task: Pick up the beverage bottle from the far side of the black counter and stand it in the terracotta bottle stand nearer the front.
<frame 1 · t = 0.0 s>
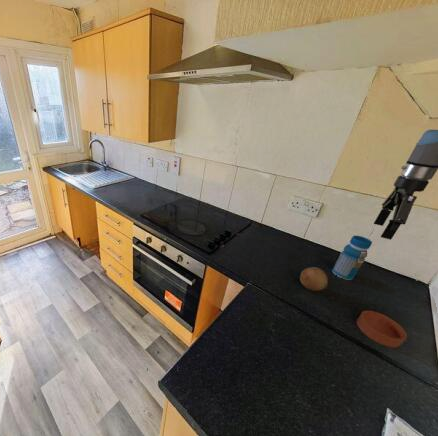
hand: (381, 231, 87), 29 cm above the table, tool pointing down, fingers open, 13 cm apart
onion: (309, 287, 98), on the table
beverage bottle: (341, 274, 108), on the table
bottle stand: (377, 331, 80), on the table
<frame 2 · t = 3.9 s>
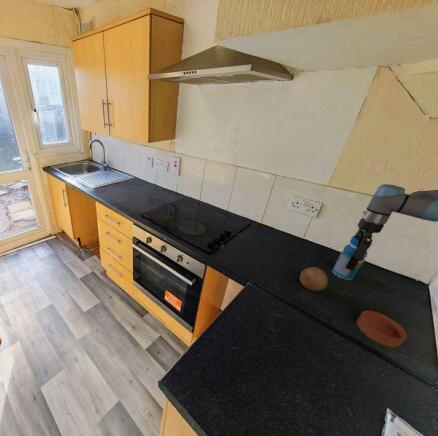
hand: (348, 264, 105), 6 cm above the table, tool pointing down, fingers closed on beverage bottle, 8 cm apart
beverage bottle: (341, 274, 108), on the table, touching gripper
everything else where it was.
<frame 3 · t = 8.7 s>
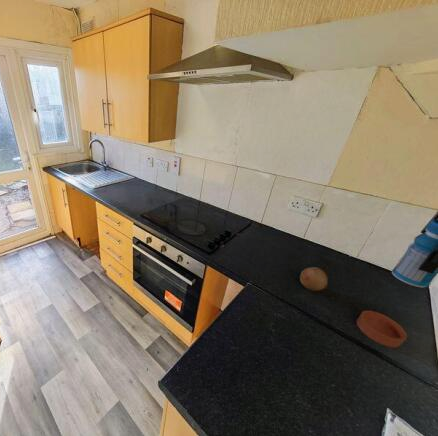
hand: (420, 263, 70), 28 cm above the table, tool pointing down, fingers closed on beverage bottle, 8 cm apart
beverage bottle: (407, 279, 73), point 22 cm above the table, touching gripper
everything else where it was.
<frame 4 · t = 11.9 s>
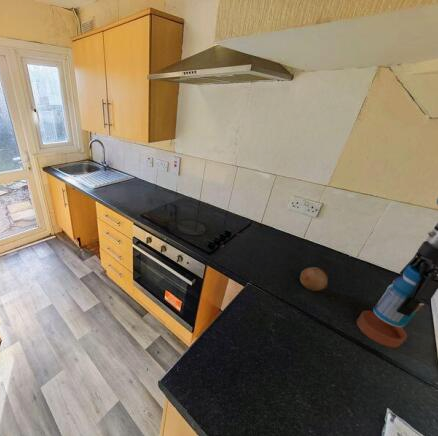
hand: (398, 304, 74), 14 cm above the table, tool pointing down, fingers closed on beverage bottle, 8 cm apart
beverage bottle: (387, 317, 77), point 7 cm above the table, touching gripper
everything else where it was.
when the fingers open (7 cm above the table, at t = 13.9 s): beverage bottle stays where it is, resting on bottle stand.
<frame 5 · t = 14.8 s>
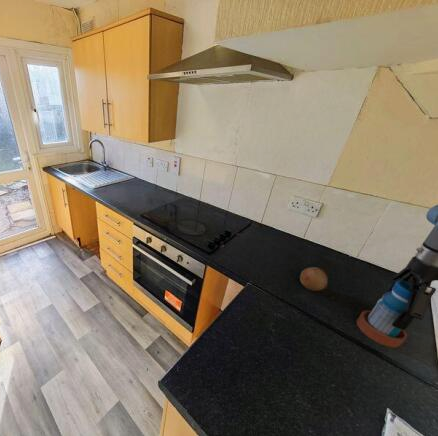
hand: (392, 313, 76), 9 cm above the table, tool pointing down, fingers open, 13 cm apart
beverage bottle: (378, 330, 80), point 1 cm above the table, touching bottle stand
everything else where it was.
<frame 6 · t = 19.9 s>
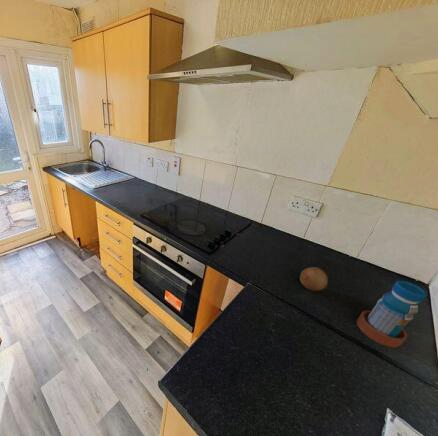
nothing on the table moved.
at the end: beverage bottle 0.1 cm off-centre in the bottle stand, point 0.6 cm above the bottle stand's base; beverage bottle tilted 0°; the gripper is holding nothing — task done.
